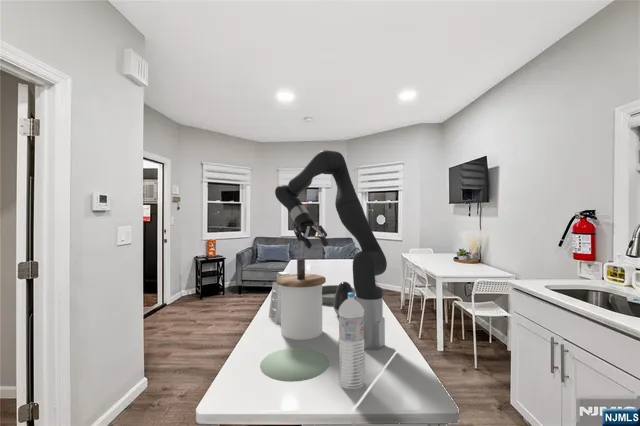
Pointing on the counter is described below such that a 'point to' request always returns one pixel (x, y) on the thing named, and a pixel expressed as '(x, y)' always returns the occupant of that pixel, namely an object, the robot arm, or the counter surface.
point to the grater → (276, 303)
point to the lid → (300, 278)
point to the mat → (294, 364)
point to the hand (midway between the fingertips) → (318, 246)
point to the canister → (301, 312)
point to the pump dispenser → (341, 295)
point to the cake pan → (330, 293)
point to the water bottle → (351, 344)
